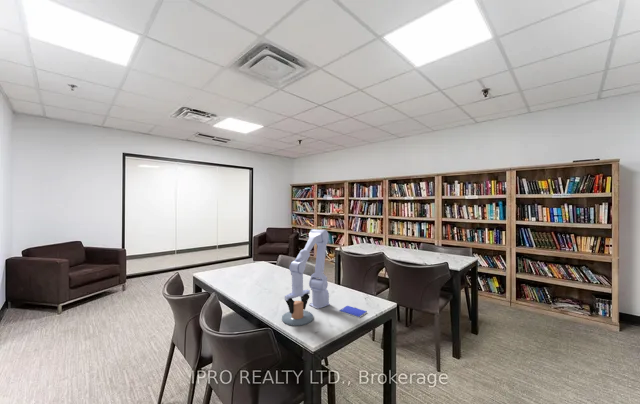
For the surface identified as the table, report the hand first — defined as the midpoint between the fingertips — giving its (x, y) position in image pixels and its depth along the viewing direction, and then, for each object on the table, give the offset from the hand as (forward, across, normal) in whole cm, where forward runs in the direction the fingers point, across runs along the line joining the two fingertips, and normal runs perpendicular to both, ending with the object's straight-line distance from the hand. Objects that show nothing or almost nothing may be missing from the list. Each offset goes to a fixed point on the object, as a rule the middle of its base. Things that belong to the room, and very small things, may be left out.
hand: (297, 310), depth 132 cm
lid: (+4, 0, 0) cm, 4 cm away
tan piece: (+3, 0, 0) cm, 3 cm away
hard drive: (+5, +27, -14) cm, 31 cm away
